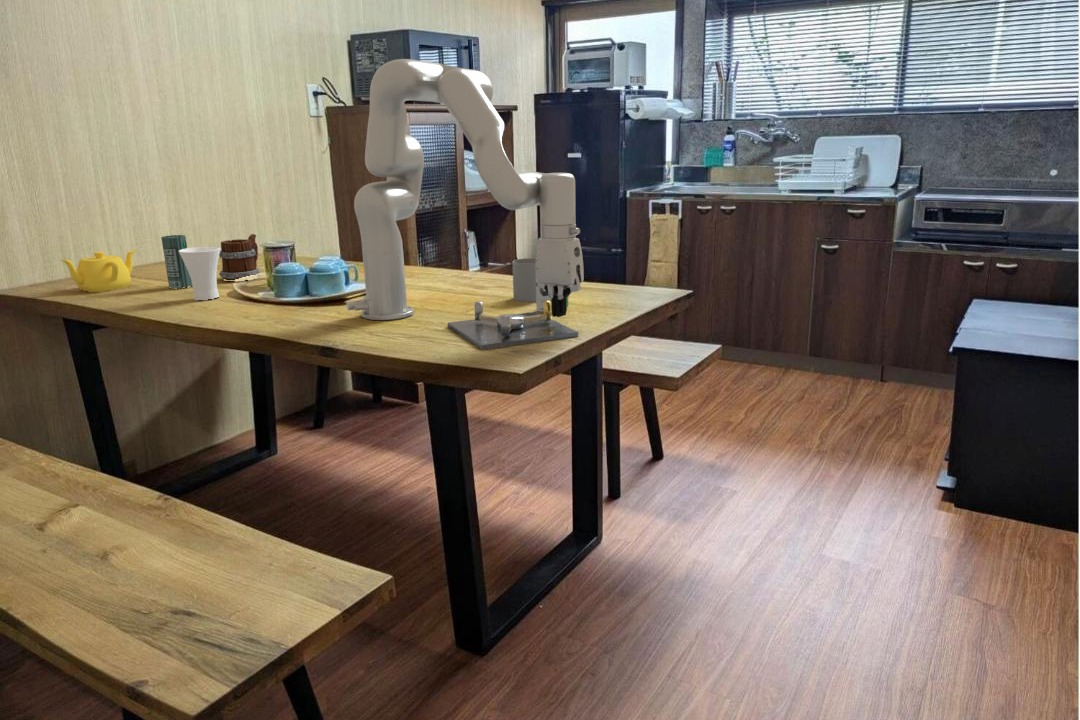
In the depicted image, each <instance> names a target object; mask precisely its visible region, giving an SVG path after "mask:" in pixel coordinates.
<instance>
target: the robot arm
mask: <svg viewBox="0 0 1080 720" xmlns="http://www.w3.org/2000/svg"><path fill="white" fill-rule="evenodd" d="M369 87H370V88H369V113H368V114H369V115H368V120H367V130H366V131H367V132H366V140H365V149H364V150H365V152H364V164H365V167H366V169H367V170H368V172H369V173H370V175H373V176H375V177H379V178H386V181H385V180H384V181H376V182H375V181H374V182H370V183H367V184H365V185H363V186H362V187H360V189H359V190H358V191H357V192H356V195H355V196H354V201H353V202H354V203H353V204H354V205H353V208H354V212H355V216H356V220H357V223H358V228H359V233H360V239H361V240H360V241H361V249H362V251H361V252H362V261H363V264H362V265H363V272H364V273H363V274H364V285H365V295H366V296H365V295H364V296H362V297H363V298H362V299H360V300H359V301H349V302H346V307H347V311H360V315H361V317H362V318H363V319H366V320H373V321H388V320H389V321H391V320H398V319H403V318H404V319H405V318H407V317H410V316H412V315H413V314H414V313H415V312H414V308H413V306H410V305H408V303H407V301H408V300H407V290H406V275H405V259H404V248H403V239H402V235H401V232H400V229H399V227H398V225H397V224H398V223H397V221H403V220H405V219H408V218H410V217H411V216H413V215H414V214H415V212H417V209H418V207H419V202H420V199H421V191H422V183H423V174H424V165H425V156H424V151H423V148H422V146H421V143H420V142H419V141H418V140H417V139H416V138H414V137H413V136H412V135H409V134H406V133H407V132H406V131H407V126H408V125H407V124H408V115H407V109H406V105H405V102H406V101H407V102H408V101H416V102H417V101H418V102H429V103H430V102H433V103H438V104H444V106H445V107H446V109H447V111H448V112H449V114H450V115H451V117H452V118H453V119H454V121H455V122H456V124H457V125H458V128H460V130H461V131H462V133H463V134H464V136H465V137H466V140H467V141H468V143H469V144H470V146H471V148H472V153H473V154H472V155H473V159H474V160H473V161H474V164H475V166H476V167H475V168H476V170H477V173H478V175H479V177H480V178H481V180H482V182H483V184H484V185H485V187H486V188H487V190H488V191H489V192H490V194H491V195H492V197H493V199H494V200H495V201H496V202H497V203H498V204H499V205H501V207H503V208H505V209H507V210H511V211H516V210H517V211H518V210H521V209H525V208H527V209H528V208H532V207H536V206H539V213H540V214H539V215H540V216H539V217H540V219H539V220H540V221H539V224H540V227H539V228H540V237H539V238H538V240H537V245H536V251H535V259H536V279H537V281H538V283H537V286H538V287H540V288H542V289H545V290H546V292H547V293H548V294H549V298H551V310H552V317H553V318H555V317H556V318H561V317H564V316H566V315H567V309H568V306H567V297H568V298H569V296H570V294H572V293H576V292H579V291H581V290H582V286H581V284H582V283H583V282H584V278H585V277H584V276H585V275H584V274H585V272H584V260H583V259H584V258H583V251H582V247H581V242H580V238H578V237H576V236H577V235H579V234H580V233H581V229H580V227H577V224H576V178H575V176H574V175H573V174H572V173H569V172H548V173H544V172H538V171H530V170H529V171H519V172H517V169H516V168H515V167H514V166H513V164H512V162H511V161H510V159H509V158H508V156H507V153H506V152H505V149H504V147H503V143H502V141H503V139H502V138H503V135H504V131H505V128H506V124H505V122H504V120H503V118H502V117H501V116H500V114H499V112H498V111H497V110H496V108H495V107H494V106H493V104H492V100H493V95H494V94H493V93H494V90H493V89H494V88H493V84H492V82H491V80H490V79H489V77H488V76H487V75H486V74H485V73H483V72H482V71H480V70H477V69H469V68H462V67H459V66H458V67H457V66H452V65H448V64H442V63H439V62H438V63H437V62H434V61H433V62H431V61H424V60H417V59H411V58H399V59H393V60H390V61H387V62H385V63H384V64H382V65H381V66H380V67H379V68H378V69H377V70H376V71H375V72H374V74H373V77H372V79H371V83H370V86H369Z"/></svg>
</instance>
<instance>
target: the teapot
mask: <svg viewBox="0 0 1080 720" xmlns="http://www.w3.org/2000/svg"><path fill="white" fill-rule="evenodd" d="M136 251H137V249H133V250H130V251H127V253H126V256H125V262H124V260H123V259H122V258H121V257H120V256H119V255H118V256H117V255H105V251H95V252H93V255H94V256H91V257H84V258H80V259H79V261H78V264H77V268H76V266H75V265H74V262H72V261H71V260H69V259H60V261H61V262H63V263H64V264H66V266H67V268H68V272H69V275H70V277H71V279H72V280H73V282H75V283H76V286H77V287H78V289H80V290H81V291H82V290H83V291H82V292H85V291H88V292H87V293H91V292H96V293H102V292H101V291H106V292H109V291H108V290H113V289H118V288H123V287H126V286H129V285H130V286H131V283H132V277H131V274H132V272H133V268H134V267H133V255H134V253H136ZM130 286H129V287H130ZM123 289H124V288H123ZM118 290H119V289H118ZM113 291H114V290H113Z"/></svg>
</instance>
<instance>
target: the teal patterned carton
mask: <svg viewBox="0 0 1080 720" xmlns="http://www.w3.org/2000/svg"><path fill="white" fill-rule="evenodd" d="M161 244H162V251H163V256H164V262H165V269H166V276H167V282H168V283H167V284H168V288H169V287H171V288H183V287H188V286H192V281H191V278H190V275H189V272H188V270H187V268H186V265H185V263H184V261H183V259H182V257H181V255H180V253H179V250H182V249H186V248H188V245H187V237H186V235H184V234H172V235H165V236H164V235H163V236H161ZM192 287H193V286H192Z"/></svg>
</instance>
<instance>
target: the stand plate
mask: <svg viewBox="0 0 1080 720" xmlns="http://www.w3.org/2000/svg"><path fill="white" fill-rule="evenodd" d="M519 314H520V315H523V316H524V317H526V316H534V315H542V314H541V313H539V312H538V311H532V312H524V313H523V312H522V313H519ZM447 328H448V329H450V330H452V331H453V332H454V333H456V334H457V335H459V336H460V337H462V338H463V339H465V340H466V341H468V342H470V343H471V342H472V343H471V344H472V345H474V344H475V345H474V346H476V347H477V346H478V347H477V348H479V349H480V348H481V350H482V349H486V350H489V349H488V348H493V349H496V348H495V347H500V348H502V347H501V346H507V347H511V346H510V345H514V346H519V345H518V344H521V345H526V344H528V345H529V344H534V343H541V342H549V341H554V340H555V341H556V340H562V339H569V338H570V339H571V338H576V337H579V331H577V330H575V329H573V328H571V327H569V326H566V325H564V324H562V323H561V322H558V321H557V320H554V319H552V320H550V321H545V320H542V321H534V322H526V323H524V327H522V328H518V329H511V331H510V335H509V336H502V335H501V328H498V327H497V322H491V321H484V320H481V321H477V320H475V318H474V319H469V320H468V319H467V320H459V321H451V322H447Z"/></svg>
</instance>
